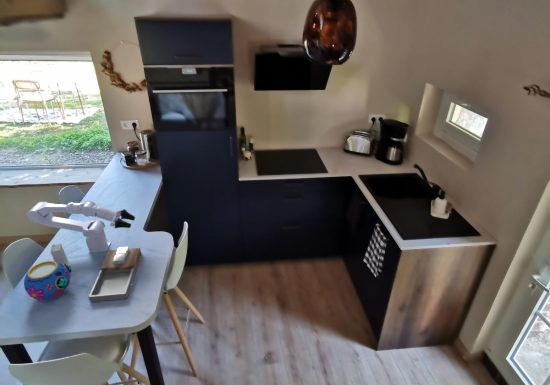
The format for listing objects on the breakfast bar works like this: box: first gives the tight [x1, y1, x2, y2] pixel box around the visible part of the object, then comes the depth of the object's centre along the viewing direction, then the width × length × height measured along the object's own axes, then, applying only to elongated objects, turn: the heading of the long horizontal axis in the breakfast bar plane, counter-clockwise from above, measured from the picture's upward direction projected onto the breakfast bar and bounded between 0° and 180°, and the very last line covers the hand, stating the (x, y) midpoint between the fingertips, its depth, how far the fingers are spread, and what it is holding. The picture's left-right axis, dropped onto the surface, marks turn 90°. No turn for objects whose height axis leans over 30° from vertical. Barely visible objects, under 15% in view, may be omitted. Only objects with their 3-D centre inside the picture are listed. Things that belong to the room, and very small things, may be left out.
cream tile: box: [116, 246, 130, 256], centre depth 175 cm, size 5×5×2 cm
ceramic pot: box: [23, 260, 72, 302], centre depth 153 cm, size 18×18×15 cm
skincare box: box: [50, 243, 69, 265], centre depth 169 cm, size 6×4×12 cm
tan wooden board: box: [100, 247, 142, 272], centre depth 173 cm, size 16×14×4 cm
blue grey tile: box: [113, 254, 126, 264], centre depth 170 cm, size 5×5×2 cm
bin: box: [88, 268, 137, 303], centre depth 160 cm, size 16×18×4 cm
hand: (132, 222), depth 178 cm, fingers open, 7 cm apart
